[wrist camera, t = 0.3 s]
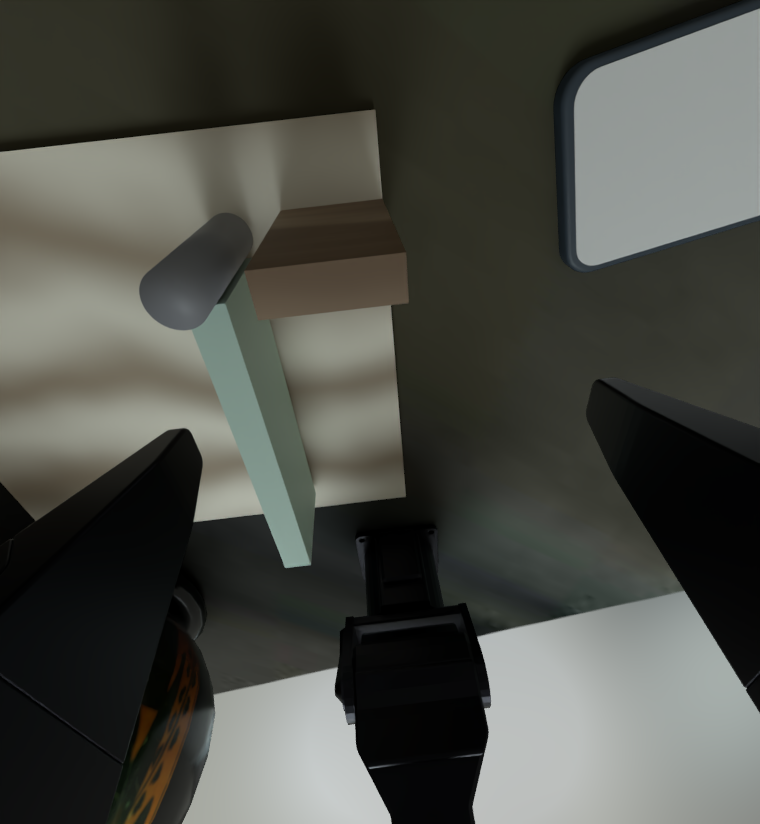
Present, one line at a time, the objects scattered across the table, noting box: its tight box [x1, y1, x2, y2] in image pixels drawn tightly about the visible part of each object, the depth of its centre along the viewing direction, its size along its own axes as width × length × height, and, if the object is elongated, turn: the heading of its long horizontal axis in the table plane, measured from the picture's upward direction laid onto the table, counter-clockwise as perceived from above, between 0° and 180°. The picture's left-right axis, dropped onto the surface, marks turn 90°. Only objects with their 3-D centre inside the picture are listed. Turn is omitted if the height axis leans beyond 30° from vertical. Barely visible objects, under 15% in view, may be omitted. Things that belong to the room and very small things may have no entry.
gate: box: [139, 213, 316, 568], centre depth 20 cm, size 18×2×8 cm, turn 5°
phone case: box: [554, 0, 760, 272], centre depth 18 cm, size 9×2×16 cm
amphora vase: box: [106, 573, 215, 824], centre depth 24 cm, size 22×22×28 cm
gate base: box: [0, 110, 409, 522], centre depth 20 cm, size 23×26×9 cm
